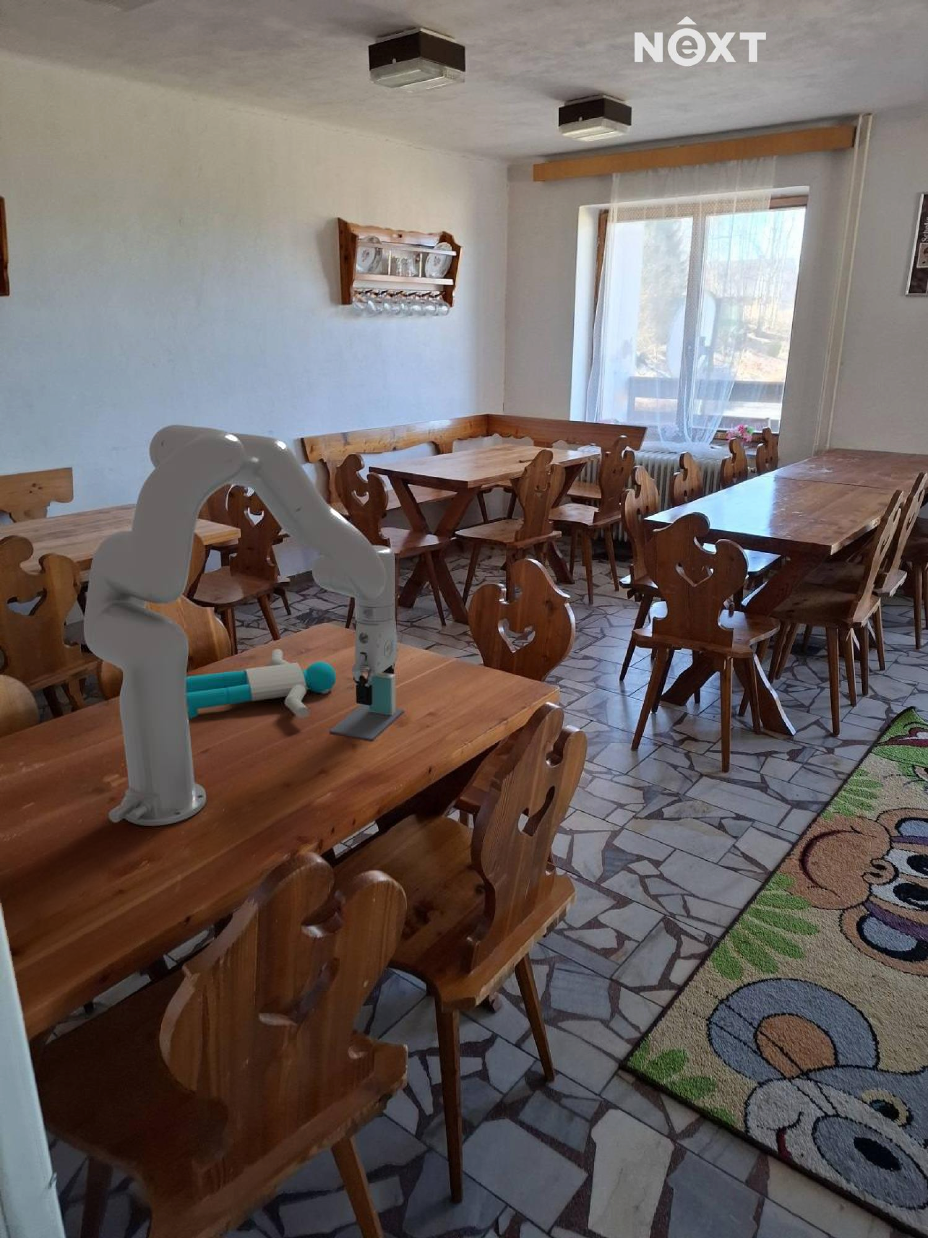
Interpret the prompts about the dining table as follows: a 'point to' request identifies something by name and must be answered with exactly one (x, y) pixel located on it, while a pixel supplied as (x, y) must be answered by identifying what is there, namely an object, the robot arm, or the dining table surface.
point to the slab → (383, 694)
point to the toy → (260, 685)
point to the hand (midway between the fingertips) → (375, 695)
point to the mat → (365, 723)
